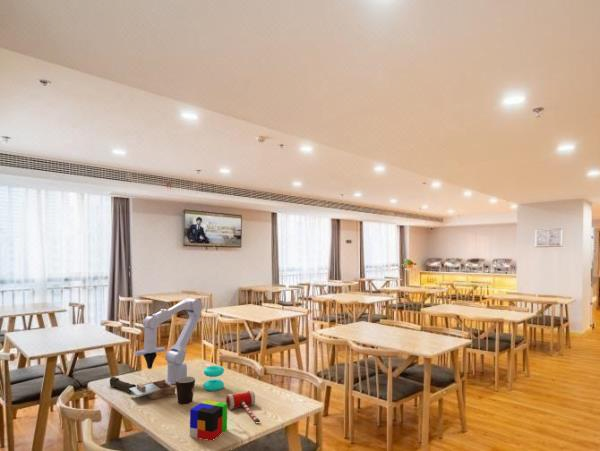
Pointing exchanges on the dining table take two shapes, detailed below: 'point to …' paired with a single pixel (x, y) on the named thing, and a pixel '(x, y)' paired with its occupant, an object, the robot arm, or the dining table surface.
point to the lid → (144, 389)
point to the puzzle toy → (208, 419)
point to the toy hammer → (242, 402)
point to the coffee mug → (185, 389)
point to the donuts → (213, 383)
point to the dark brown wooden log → (121, 384)
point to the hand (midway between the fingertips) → (149, 368)
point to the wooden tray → (164, 392)
